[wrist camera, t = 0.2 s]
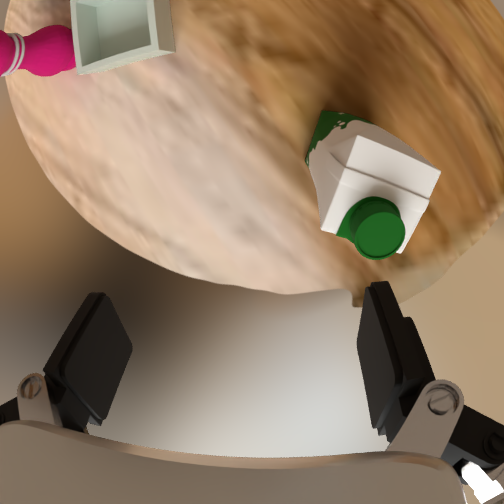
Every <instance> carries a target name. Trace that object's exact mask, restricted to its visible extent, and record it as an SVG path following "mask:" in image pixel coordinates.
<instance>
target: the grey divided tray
mask: <svg viewBox="0 0 504 504" xmlns="http://www.w3.org/2000/svg"><path fill="white" fill-rule="evenodd" d="M70 8H71V23H72V34H73V44H74V53H75V61H76V68H77V75H82V74H90V73H100V72H104V71H107V70H110V69H113V68H117V67H120V66H123V65H127V64H130V63H134V62H138V61H141V60H145V59H149V58H153V57H157V56H161V55H166V54H170V53H175V45H174V37H173V28H172V19H171V10H170V1H169V0H70Z"/></svg>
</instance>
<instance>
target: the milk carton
mask: <svg viewBox="0 0 504 504" xmlns="http://www.w3.org/2000/svg"><path fill="white" fill-rule="evenodd" d="M305 163H306V164H307V166H308V167H309V170H310V172H311V175H312V178H313V181H314V184H315V187H316V190H317V197H318V205H319V215H320V226H321V230H323V231H327V232H331V233H335V234H336V236H339V237H343V238H347V239H348V240H349V241H351V242H352V243H354V244H355V247H356V248H357V250H358V251H359V253H360V254H361V255H362V256H364V257H366V258H368V259H372V260H380V259H385V258H387V257H389V256H391V255H393V254H394V253H395V252H397V253H402V251H403V250H404V248H405V246H406V244H407V242H408V241H409V239H410V237H411V235H412V233H413V231H414V230H415V228H416V226H417V224H418V222H419V220H420V218H421V216H422V214H423V213H424V211H425V210H426V208H427V206H428V203H429V201H430V200H429V197H430V195H431V193H432V191H433V189H434V186H435V184H436V182H437V180H438V177H439V175H440V173H441V171H440V170H439V169H437V168H436V167H435V166H434V165H433V164H431V163H430V162H429V161H428V160H426V159H425V158H424V157H422V156H421V155H420V154H419V153H417V152H416V151H415V150H414V149H412V148H411V147H410V146H408V145H407V144H406V143H404V142H403V141H402V140H400V139H399V138H397V137H395V136H394V135H392V134H391V133H389V132H387V131H385V130H384V129H382V128H380V127H379V126H377V125H375V124H373V123H371V122H369V121H367V120H365V119H362V118H359V117H356V116H353V115H351V114H347V113H340V112H332V111H323V110H322V112H321V115H320V118H319V121H318V124H317V126H316V129H315V132H314V135H313V138H312V141H311V144H310V147H309V150H308V154H307V157H306V160H305Z"/></svg>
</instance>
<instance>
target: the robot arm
mask: <svg viewBox="0 0 504 504" xmlns="http://www.w3.org/2000/svg"><path fill="white" fill-rule="evenodd" d="M357 351H358V355H359V360H360V365H361V370H362V374H363V379H364V385H365V390H366V395H367V401H368V407H369V412H370V418H371V424H372V427H373V428H377V430H378V435H379V436H380V435H385V434H386V436H387V441H388V442H390V444H389V446H388V447H387V449H386V451H381V452H367V453H353V454H342V455H332V456H331V455H330V456H316V457H315V456H314V457H289V458H248V457H227V456H226V457H225V456H211V455H201V454H191V453H183V452H175V451H168V450H161V449H155V448H149V447H143V446H137V445H132V444H127V443H122V442H118V441H113V440H109V439H105V438H101V437H96V436H93V435H90V434H89V432H88V429H87V426H86V425H87V423H88V422H89V423H90V424H94V425H98V426H101V424H102V421H103V420H104V419H106V417H107V415H108V412H109V409H110V406H111V404H112V401H113V399H114V396H115V393H116V391H117V388H118V386H119V383H120V380H121V378H122V375H123V373H124V370H125V368H126V365H127V362H128V360H129V358H130V355H131V353H132V343H131V341H130V339H129V337H128V335H127V333H126V331H125V329H124V327H123V325H122V323H121V321H120V319H119V317H118V315H117V313H116V311H115V308H114V306H113V304H112V302H111V300H110V298H109V297H108V296H106V294H105V293H102V292H97V293H96V292H92V293H89V295H88V296H87V297H86V299H85V300H84V302H83V303H82V305H81V307H80V308H79V310H78V311H77V313H76V314H75V316H74V318H73V319H72V321H71V322H70V324H69V326H68V327H67V329H66V331H65V332H64V334H63V335H62V337H61V339H60V341H59V342H58V344H57V346H56V348H55V349H54V351H53V353H52V354H51V356H50V358H49V360H48V362H47V363H46V365H45V367H44V369H43V371H44V372H45V376H44V377H43V376H42V375H41V374H39V373H32V374H29V375H27V376H26V377H25V378H24V379H23V380H22V381H21V382H20V384H19V386H18V389H17V397H15V398H14V399H12V400H10V401H8V402H6V403H5V404H3V405H1V406H0V504H467V501H466V497H465V493H464V490H463V486H462V484H465V485H470V486H471V487H472V488H473V489H474V490H475V491H476V492H475V493H474V494H475V495H476V496H477V498H478V499H479V501H480V502H481V504H504V425H502V424H500V423H498V422H496V421H494V420H492V419H491V418H489V417H487V416H484V415H483V414H481V413H479V412H477V411H475V410H473V409H471V408H470V407H467V406H466V405H464V397H463V394H462V392H461V390H460V389H459V387H458V386H457V385H456V384H454V383H452V382H451V381H447V380H436V379H435V376H434V373H433V371H432V368H431V365H430V362H429V360H428V357H427V354H426V352H425V349H424V346H423V344H422V342H421V339H420V336H419V334H418V331H417V329H416V326H415V324H414V322H413V320H412V318H411V317H403V315H402V313H401V310H400V308H399V305H398V303H397V300H396V298H395V296H394V293H393V291H392V289H391V286H390V284H389V282H388V281H381V282H372V283H371V285H370V287H366V288H365V294H364V301H363V308H362V314H361V320H360V326H359V331H358V337H357ZM461 483H462V484H461Z"/></svg>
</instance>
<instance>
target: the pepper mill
mask: <svg viewBox="0 0 504 504" xmlns="http://www.w3.org/2000/svg"><path fill="white" fill-rule="evenodd" d="M74 67H76V61H75V53H74V44H73V34H72V29H68V28H67V27H65V26H62V25H51V26H47V27H44V28H42V29H40V30H38V31H36V32H35V33H33V34H31V35H29V36H24V37H22V36H21V35H20V34H18V33H5V32H4V31H2V30H0V76H5V75H10V74H12V73H14V72H15V71H16V70H17V69H26V70H28V71H30V72H31V73H33V74H35V75H38V76H53V75H55V74H58V73H59V72H61V71H66V70H70V69H73V68H74Z"/></svg>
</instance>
